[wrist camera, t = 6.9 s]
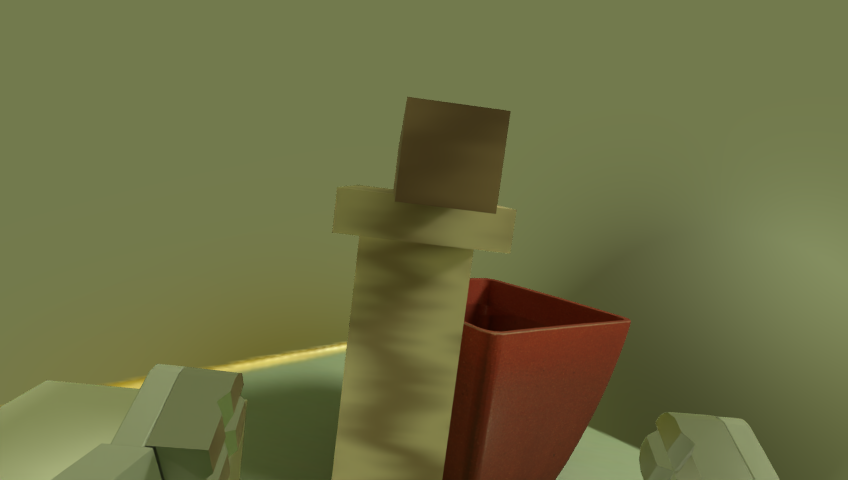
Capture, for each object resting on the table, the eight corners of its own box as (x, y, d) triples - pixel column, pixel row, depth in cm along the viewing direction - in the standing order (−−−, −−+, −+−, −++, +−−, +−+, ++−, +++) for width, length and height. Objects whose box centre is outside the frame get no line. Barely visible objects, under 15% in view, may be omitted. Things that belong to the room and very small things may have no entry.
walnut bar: (436, 194, 38) (441, 152, 37) (495, 213, 16) (510, 111, 15) (393, 189, 37) (398, 146, 37) (394, 201, 16) (407, 96, 15)
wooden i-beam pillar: (437, 542, 40) (485, 200, 38) (461, 730, 27) (538, 212, 24) (305, 531, 40) (343, 183, 37) (258, 719, 26) (314, 184, 23)
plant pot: (471, 409, 66) (490, 275, 64) (607, 489, 51) (636, 318, 50) (335, 440, 54) (353, 277, 52) (460, 556, 39) (492, 334, 38)
